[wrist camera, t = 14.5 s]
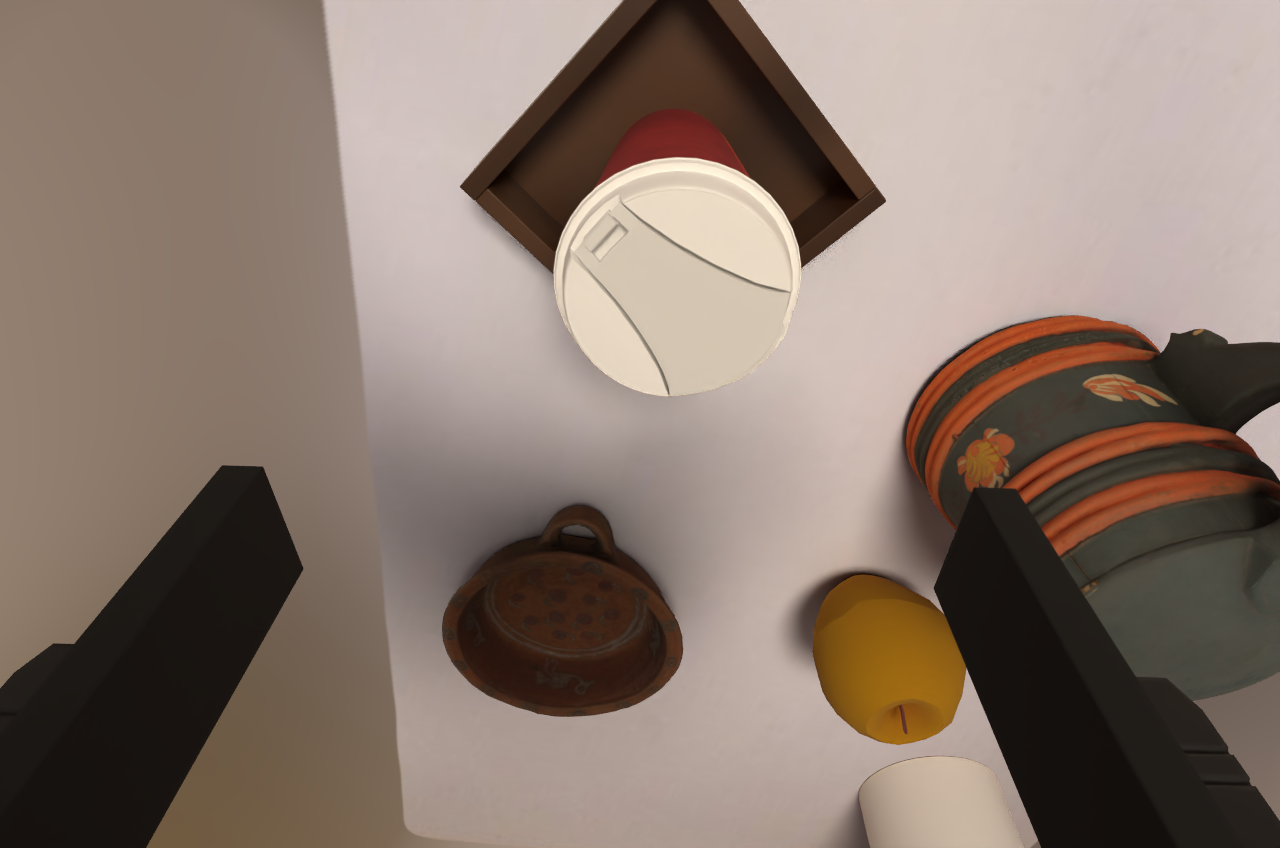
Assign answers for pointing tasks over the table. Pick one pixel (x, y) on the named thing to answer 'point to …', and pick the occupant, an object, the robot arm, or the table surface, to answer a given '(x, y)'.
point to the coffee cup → (677, 262)
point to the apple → (887, 660)
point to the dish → (563, 624)
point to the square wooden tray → (673, 79)
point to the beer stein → (1127, 482)
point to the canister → (937, 806)
